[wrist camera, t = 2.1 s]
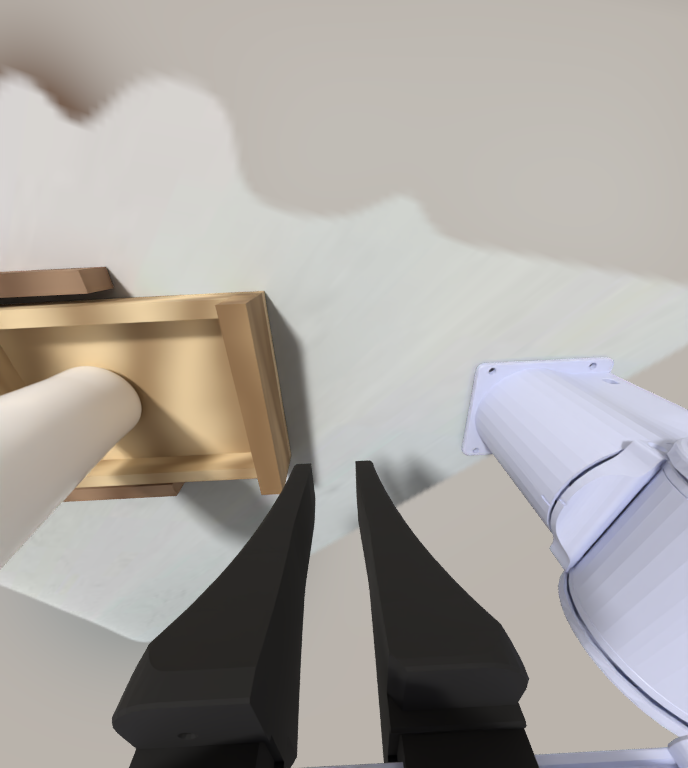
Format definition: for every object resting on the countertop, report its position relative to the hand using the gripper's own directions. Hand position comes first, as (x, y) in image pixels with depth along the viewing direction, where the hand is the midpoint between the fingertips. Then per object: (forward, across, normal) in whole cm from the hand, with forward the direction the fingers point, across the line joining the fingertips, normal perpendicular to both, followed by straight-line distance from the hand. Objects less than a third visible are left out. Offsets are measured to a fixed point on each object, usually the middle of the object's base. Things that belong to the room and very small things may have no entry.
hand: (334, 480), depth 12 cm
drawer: (+9, +13, 0) cm, 16 cm away
